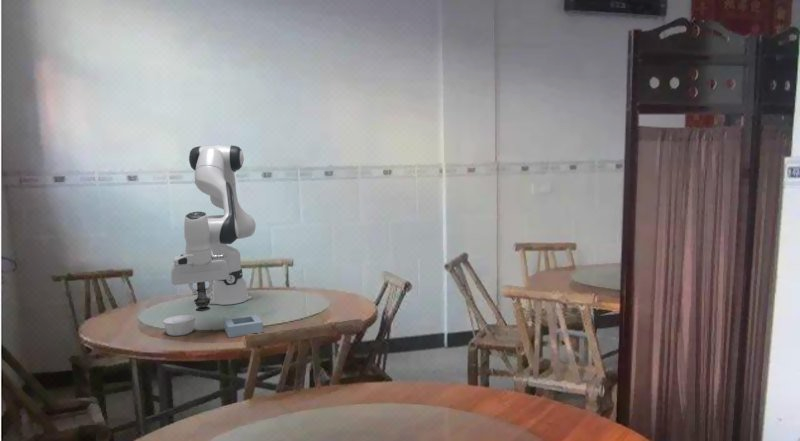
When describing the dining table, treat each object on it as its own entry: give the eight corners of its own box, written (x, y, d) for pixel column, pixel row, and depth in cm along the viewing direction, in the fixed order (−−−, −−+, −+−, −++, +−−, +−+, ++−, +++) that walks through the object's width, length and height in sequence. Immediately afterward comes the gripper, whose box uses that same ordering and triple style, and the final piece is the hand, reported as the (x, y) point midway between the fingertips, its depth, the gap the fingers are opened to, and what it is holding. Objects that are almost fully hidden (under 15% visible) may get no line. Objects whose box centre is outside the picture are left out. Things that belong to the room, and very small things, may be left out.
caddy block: (224, 328, 239) (223, 318, 238) (257, 323, 243) (256, 314, 243) (228, 337, 227) (228, 327, 227) (263, 332, 232) (262, 322, 231)
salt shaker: (214, 307, 232) (212, 276, 230) (204, 312, 226) (202, 279, 224) (201, 306, 233) (198, 275, 232) (191, 311, 228) (188, 279, 226)
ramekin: (157, 335, 233) (156, 321, 232) (178, 326, 243) (177, 313, 242) (181, 338, 229) (180, 324, 228) (201, 329, 239) (200, 315, 238)
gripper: (227, 252, 234) (229, 288, 236) (169, 258, 226) (172, 295, 228) (229, 255, 228) (231, 292, 230) (170, 261, 220) (173, 299, 222)
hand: (201, 293), depth 229 cm, fingers closed on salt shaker, 4 cm apart
